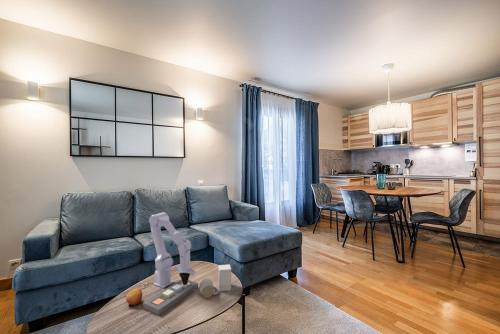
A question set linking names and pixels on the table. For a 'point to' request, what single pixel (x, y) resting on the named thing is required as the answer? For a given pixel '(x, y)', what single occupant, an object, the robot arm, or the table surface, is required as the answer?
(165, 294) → the key sage
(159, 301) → the key terracotta
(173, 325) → the table surface
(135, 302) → the fruit
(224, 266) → the supplement box
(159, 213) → the robot arm
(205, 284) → the ceramic mug
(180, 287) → the key bluegrey
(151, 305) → the keypad
